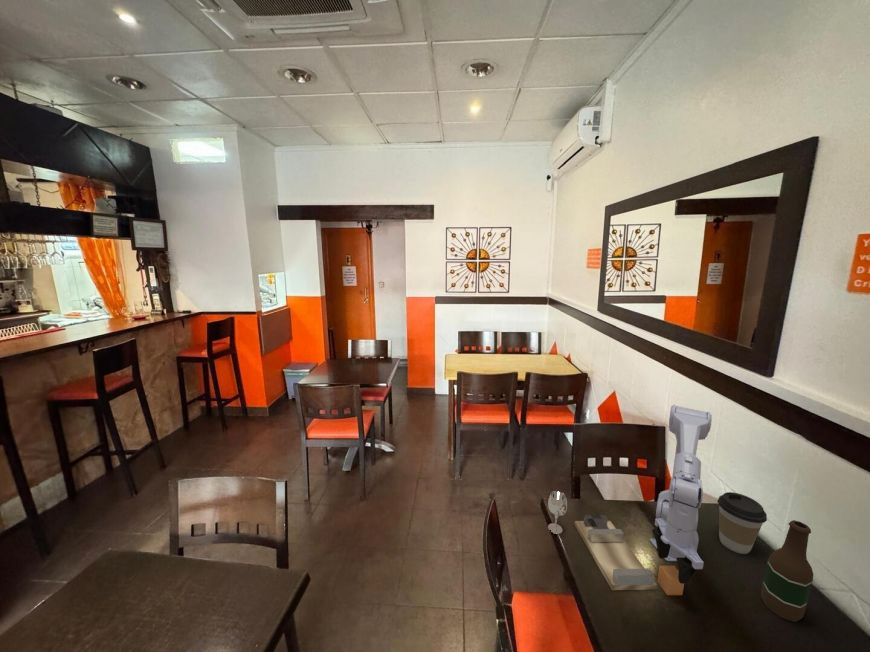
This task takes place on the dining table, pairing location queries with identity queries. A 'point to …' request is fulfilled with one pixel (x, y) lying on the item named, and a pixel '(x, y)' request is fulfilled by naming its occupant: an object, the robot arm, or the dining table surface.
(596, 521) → the moving jaw
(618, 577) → the fixed jaw
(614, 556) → the vise bed
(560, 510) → the wineglass
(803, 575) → the beer bottle
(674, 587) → the orange block
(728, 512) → the coffee cup
